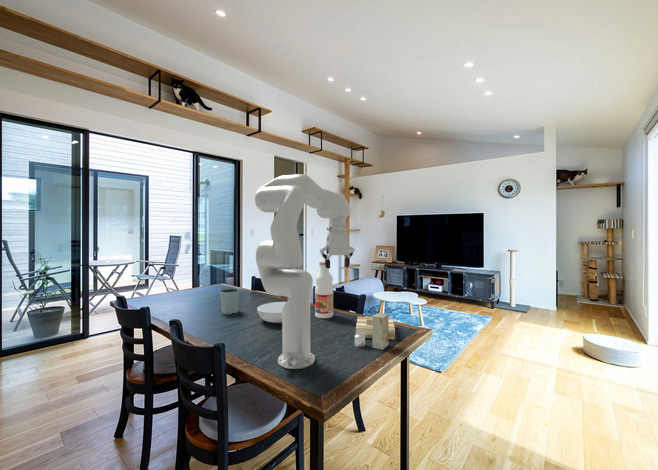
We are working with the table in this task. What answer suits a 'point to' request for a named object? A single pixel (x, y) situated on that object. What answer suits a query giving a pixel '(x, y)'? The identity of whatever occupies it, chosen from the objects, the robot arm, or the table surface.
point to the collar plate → (366, 327)
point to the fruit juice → (323, 293)
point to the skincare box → (380, 331)
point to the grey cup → (229, 300)
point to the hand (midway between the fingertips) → (337, 267)
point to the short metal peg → (359, 340)
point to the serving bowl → (271, 312)
